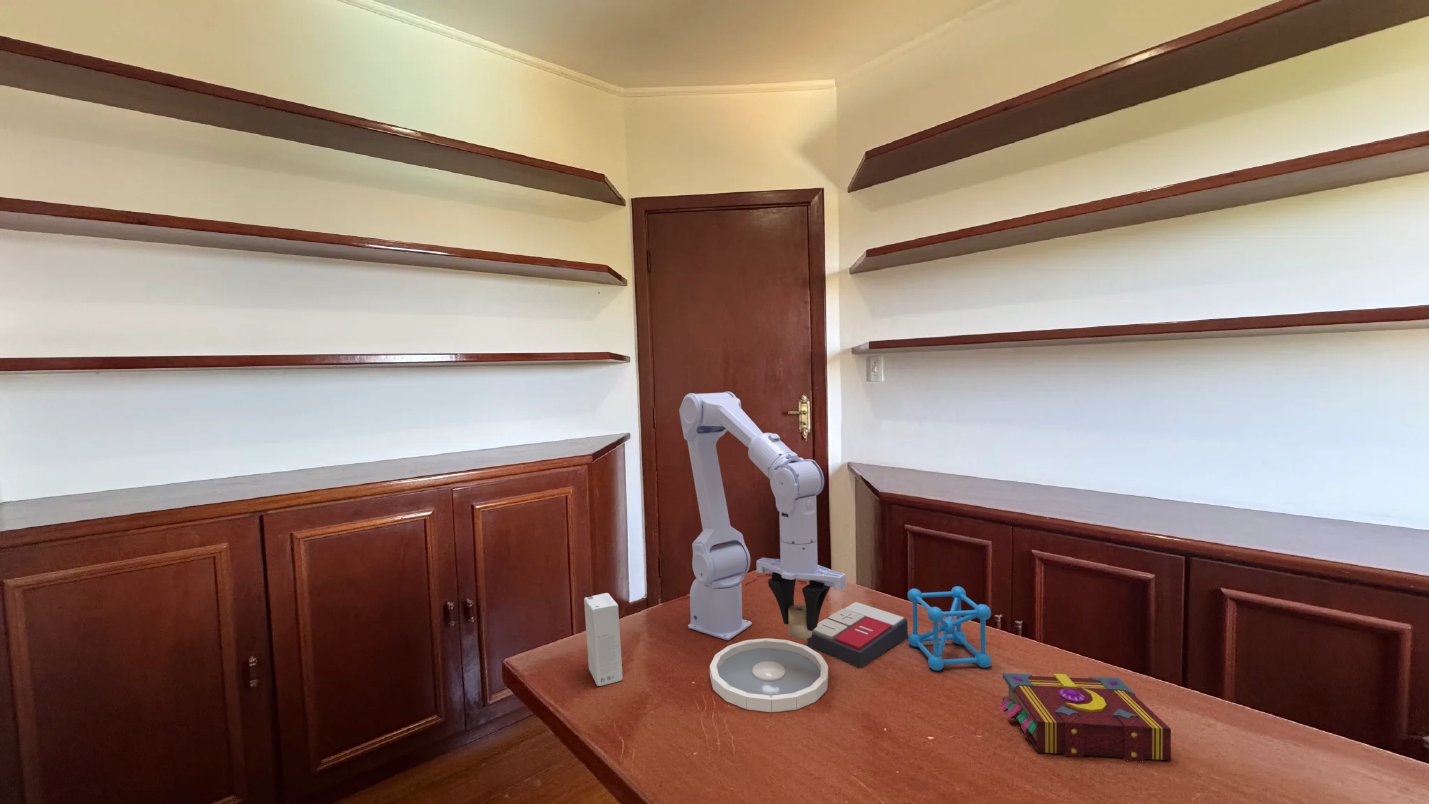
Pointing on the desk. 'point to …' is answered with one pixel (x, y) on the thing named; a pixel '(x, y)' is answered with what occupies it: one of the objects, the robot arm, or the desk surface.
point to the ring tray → (769, 675)
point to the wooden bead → (798, 622)
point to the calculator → (858, 634)
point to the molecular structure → (949, 628)
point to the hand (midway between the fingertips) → (800, 625)
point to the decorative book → (1085, 717)
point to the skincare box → (603, 639)
